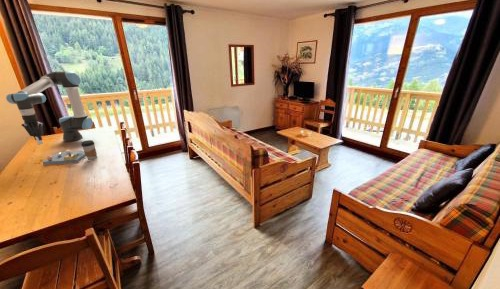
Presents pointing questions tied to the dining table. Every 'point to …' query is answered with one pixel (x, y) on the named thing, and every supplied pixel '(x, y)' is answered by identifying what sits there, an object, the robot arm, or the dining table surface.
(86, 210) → the dining table surface
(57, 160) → the board
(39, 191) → the dining table surface
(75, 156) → the brass cover
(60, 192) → the dining table surface
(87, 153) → the coffee cup
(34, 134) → the robot arm
